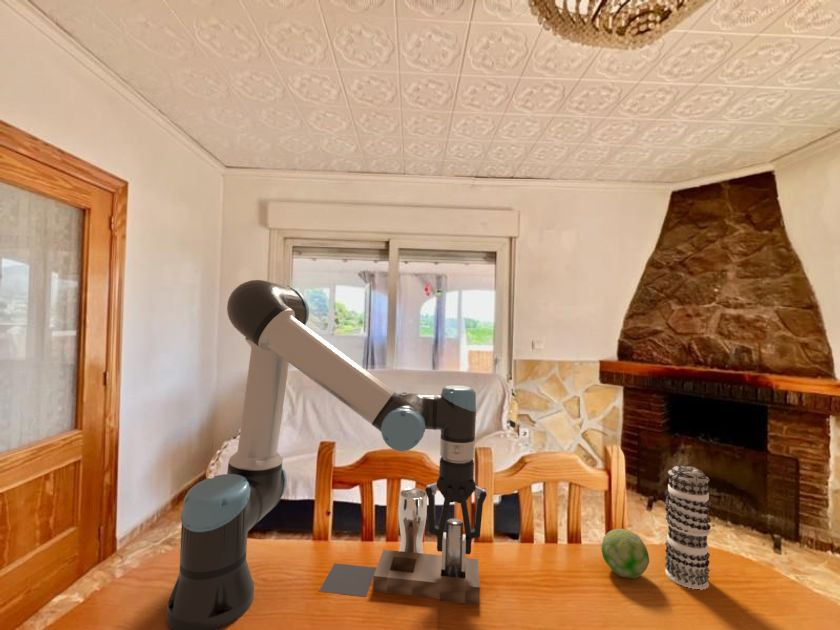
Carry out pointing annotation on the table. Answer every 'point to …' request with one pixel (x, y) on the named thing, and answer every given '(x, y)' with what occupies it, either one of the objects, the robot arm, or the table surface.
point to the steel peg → (453, 548)
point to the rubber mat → (348, 580)
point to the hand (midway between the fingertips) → (453, 566)
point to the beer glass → (412, 519)
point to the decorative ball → (625, 553)
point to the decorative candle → (687, 527)
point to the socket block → (425, 577)
